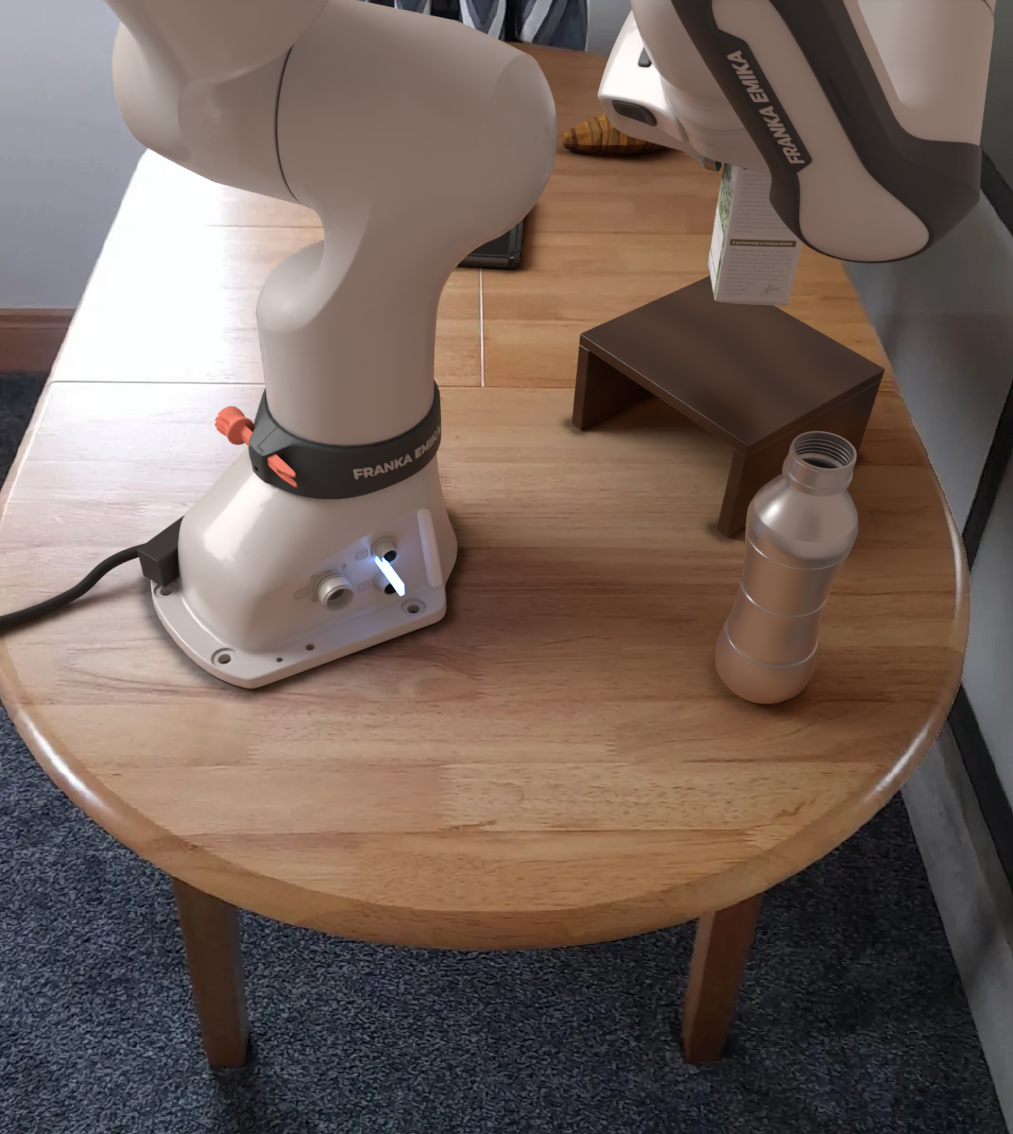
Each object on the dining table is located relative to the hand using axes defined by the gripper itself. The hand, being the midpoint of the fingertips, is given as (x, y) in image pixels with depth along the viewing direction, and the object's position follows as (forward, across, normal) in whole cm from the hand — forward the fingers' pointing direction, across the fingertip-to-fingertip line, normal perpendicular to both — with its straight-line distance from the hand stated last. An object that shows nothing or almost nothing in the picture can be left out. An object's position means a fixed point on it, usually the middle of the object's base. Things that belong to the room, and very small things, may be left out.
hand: (769, 175), depth 82 cm
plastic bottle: (0, -13, +33) cm, 36 cm away
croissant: (+48, +31, -15) cm, 60 cm away
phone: (+30, +34, +3) cm, 46 cm away
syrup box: (+6, 0, +7) cm, 9 cm away
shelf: (+16, 0, +17) cm, 23 cm away
